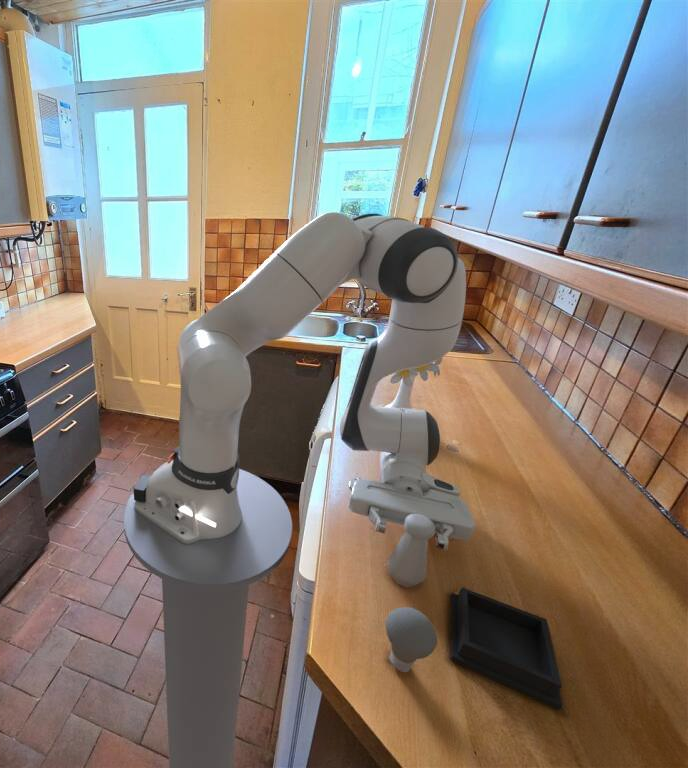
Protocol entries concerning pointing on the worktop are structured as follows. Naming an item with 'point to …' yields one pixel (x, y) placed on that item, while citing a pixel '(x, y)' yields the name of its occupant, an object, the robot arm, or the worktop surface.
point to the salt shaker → (411, 551)
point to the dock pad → (505, 645)
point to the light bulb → (409, 637)
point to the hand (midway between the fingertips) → (410, 537)
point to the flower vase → (410, 383)
